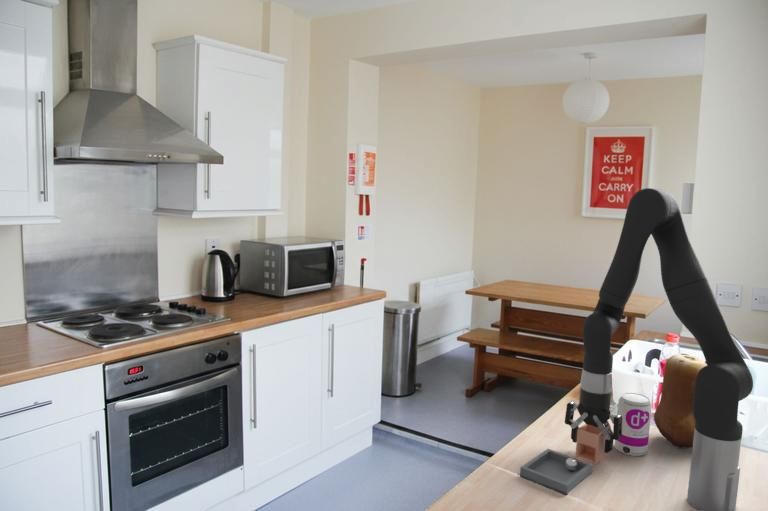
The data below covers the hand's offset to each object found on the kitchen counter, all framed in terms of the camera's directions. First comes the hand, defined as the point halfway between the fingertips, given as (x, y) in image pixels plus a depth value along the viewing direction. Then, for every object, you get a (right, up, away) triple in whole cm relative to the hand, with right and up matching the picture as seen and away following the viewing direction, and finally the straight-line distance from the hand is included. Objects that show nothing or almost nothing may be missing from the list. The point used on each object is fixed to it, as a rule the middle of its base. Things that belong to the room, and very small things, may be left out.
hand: (590, 446), depth 157 cm
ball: (-7, -3, -8) cm, 11 cm away
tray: (-12, -4, -9) cm, 15 cm away
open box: (0, -3, 0) cm, 3 cm away
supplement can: (+12, -3, +5) cm, 14 cm away
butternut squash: (+28, -3, +10) cm, 30 cm away
